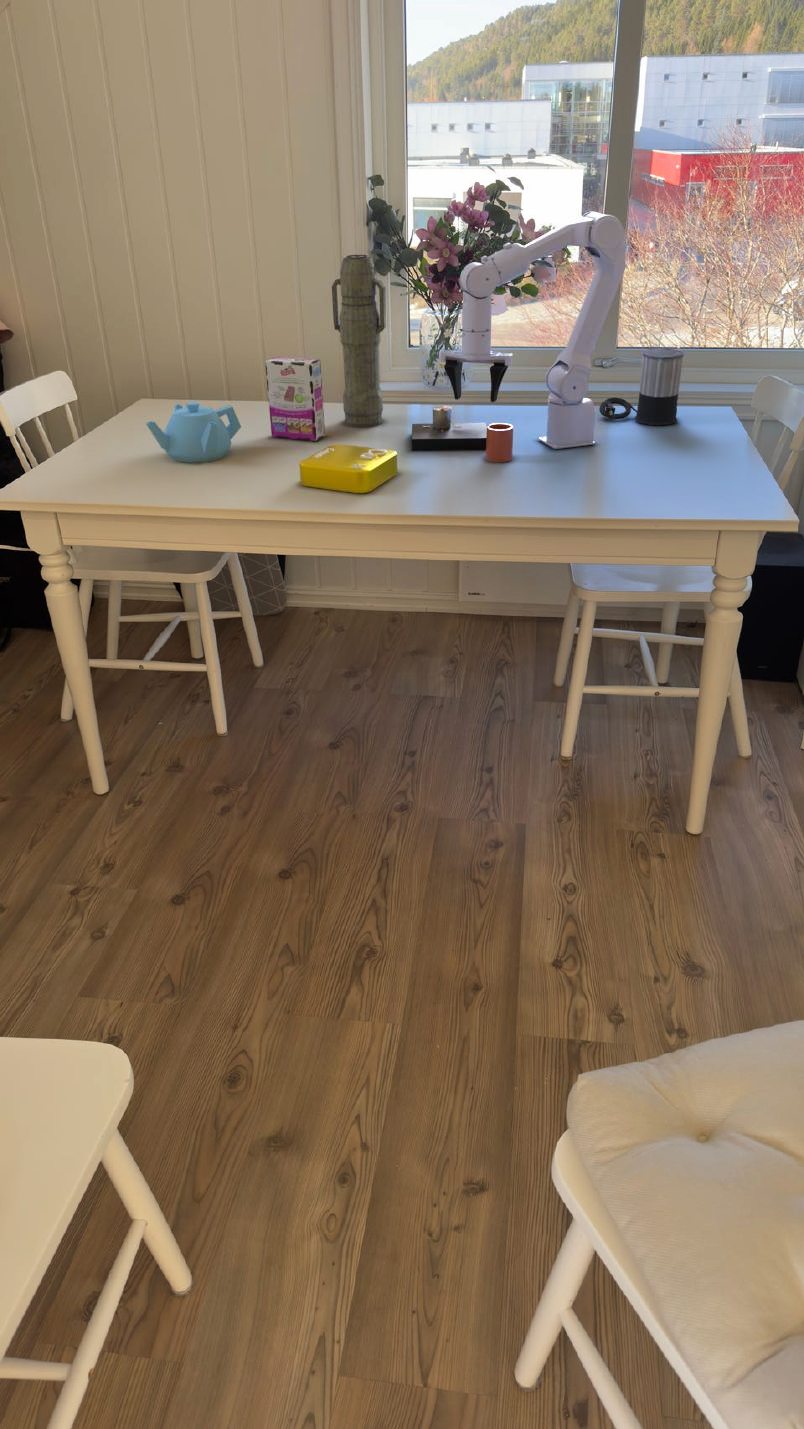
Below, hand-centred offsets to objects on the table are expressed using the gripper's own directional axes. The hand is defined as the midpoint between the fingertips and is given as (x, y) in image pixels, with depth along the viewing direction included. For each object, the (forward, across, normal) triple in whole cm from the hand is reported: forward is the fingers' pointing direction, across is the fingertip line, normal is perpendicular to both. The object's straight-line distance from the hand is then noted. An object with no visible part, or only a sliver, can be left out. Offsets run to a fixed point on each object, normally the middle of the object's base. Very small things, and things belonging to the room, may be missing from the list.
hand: (475, 399), depth 209 cm
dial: (+8, -9, +6) cm, 14 cm away
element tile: (+10, -17, -26) cm, 33 cm away
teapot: (+10, -54, -20) cm, 59 cm away
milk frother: (+11, +28, +34) cm, 45 cm away
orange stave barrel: (+10, +6, -4) cm, 13 cm away
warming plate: (+10, -7, +4) cm, 13 cm away
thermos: (+10, -31, +14) cm, 35 cm away
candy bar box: (+10, -40, -2) cm, 41 cm away
